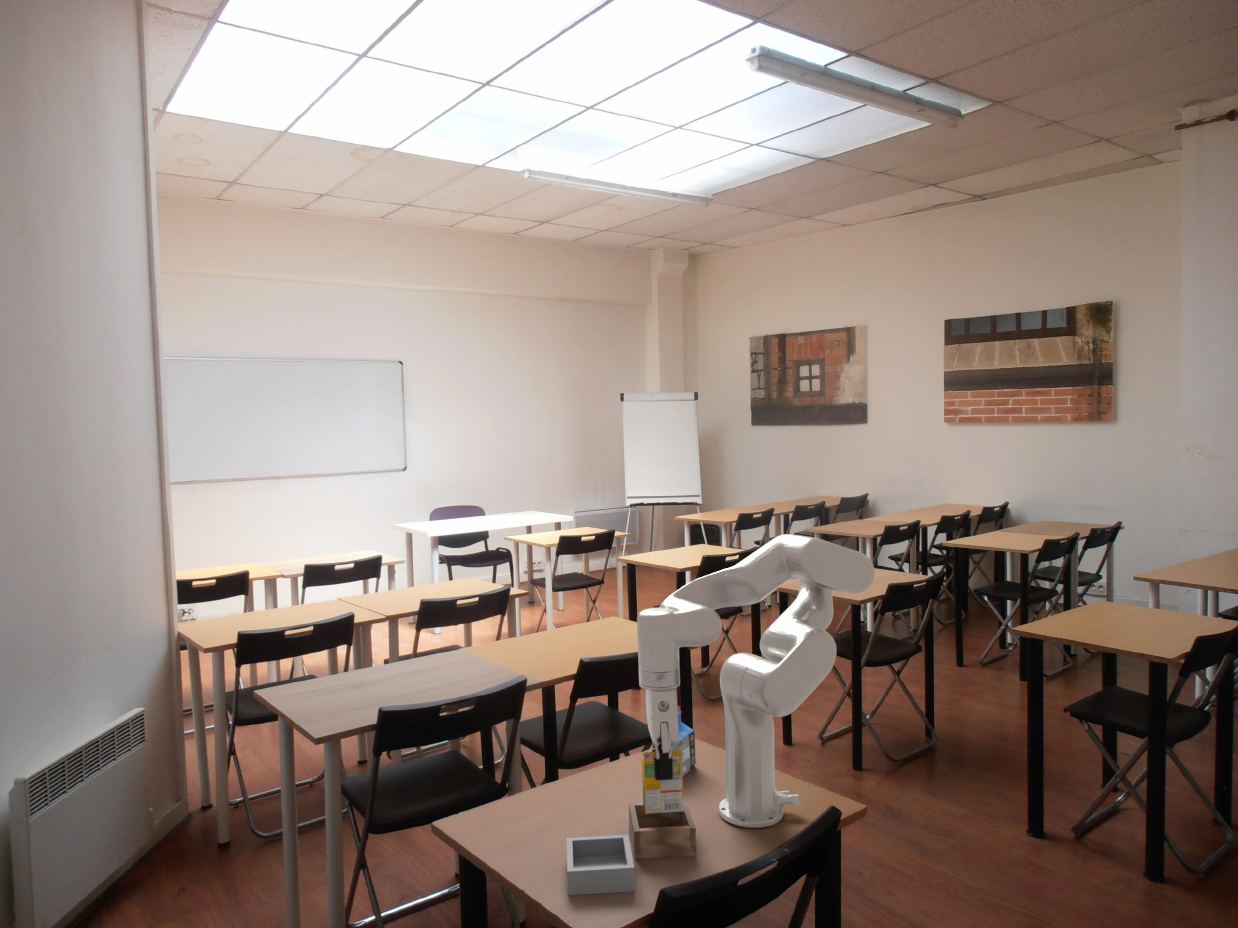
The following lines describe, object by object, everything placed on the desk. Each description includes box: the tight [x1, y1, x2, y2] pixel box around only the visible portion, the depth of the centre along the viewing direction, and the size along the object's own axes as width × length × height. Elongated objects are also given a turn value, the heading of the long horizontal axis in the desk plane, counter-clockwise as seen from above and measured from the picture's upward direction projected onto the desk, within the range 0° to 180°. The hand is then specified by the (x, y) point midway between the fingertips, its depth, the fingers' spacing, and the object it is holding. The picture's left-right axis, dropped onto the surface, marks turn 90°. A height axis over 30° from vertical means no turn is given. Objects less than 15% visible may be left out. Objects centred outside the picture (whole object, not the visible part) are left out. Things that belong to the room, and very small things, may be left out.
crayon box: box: [641, 750, 685, 815], centre depth 148 cm, size 7×3×12 cm, turn 95°
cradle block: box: [566, 834, 636, 896], centre depth 137 cm, size 11×11×4 cm
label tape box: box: [671, 710, 697, 777], centre depth 178 cm, size 9×4×12 cm, turn 149°
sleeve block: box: [628, 799, 697, 860], centre depth 148 cm, size 11×11×5 cm
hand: (662, 773), depth 148 cm, fingers closed on crayon box, 3 cm apart
